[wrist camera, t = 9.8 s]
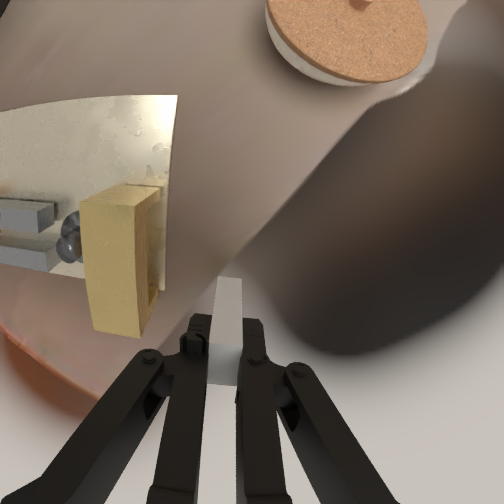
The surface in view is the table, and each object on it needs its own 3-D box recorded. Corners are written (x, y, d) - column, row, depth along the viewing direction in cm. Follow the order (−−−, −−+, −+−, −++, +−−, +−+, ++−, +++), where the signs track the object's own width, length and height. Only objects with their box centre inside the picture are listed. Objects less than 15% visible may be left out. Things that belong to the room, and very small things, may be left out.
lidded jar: (332, 122, 21) (386, 116, 13) (230, 40, 18) (225, -12, 10) (400, 49, 18) (464, 24, 10) (310, -27, 15) (340, -83, 7)
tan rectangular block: (160, 187, 22) (134, 205, 16) (158, 296, 26) (140, 338, 20) (115, 184, 21) (79, 202, 16) (119, 290, 25) (93, 329, 19)
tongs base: (178, 96, 20) (166, 88, 16) (165, 287, 26) (156, 310, 23) (-28, 120, 17) (-50, 123, 14) (-19, 256, 24) (-38, 269, 20)
